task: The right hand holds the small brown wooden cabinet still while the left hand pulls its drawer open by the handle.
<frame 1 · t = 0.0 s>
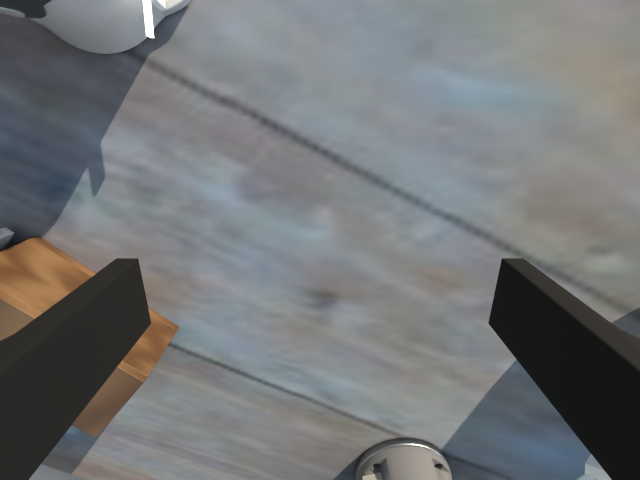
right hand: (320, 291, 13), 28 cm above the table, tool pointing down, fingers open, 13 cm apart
cabinet: (91, 311, 45), on the table
drawer: (14, 304, 39), point 5 cm above the table, slide at 1.7 cm
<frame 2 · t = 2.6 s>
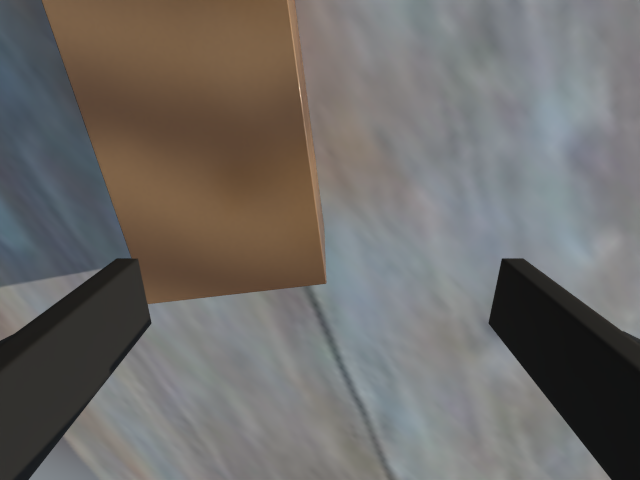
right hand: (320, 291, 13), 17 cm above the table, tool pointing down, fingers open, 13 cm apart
cabinet: (237, 113, 26), on the table
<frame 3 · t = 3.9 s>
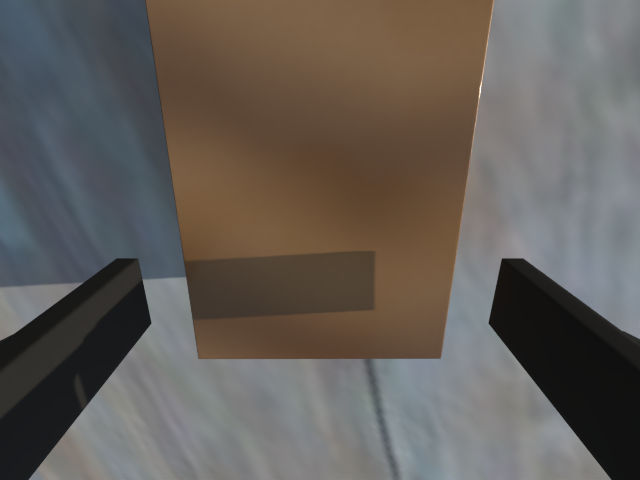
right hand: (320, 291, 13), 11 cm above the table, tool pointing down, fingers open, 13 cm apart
cabinet: (319, 116, 21), on the table
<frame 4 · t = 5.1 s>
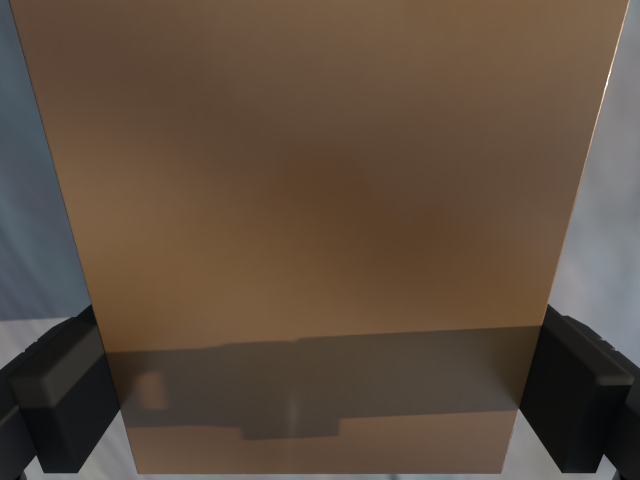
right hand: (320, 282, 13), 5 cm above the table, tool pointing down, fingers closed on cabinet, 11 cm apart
cabinet: (319, 110, 16), on the table, touching right hand
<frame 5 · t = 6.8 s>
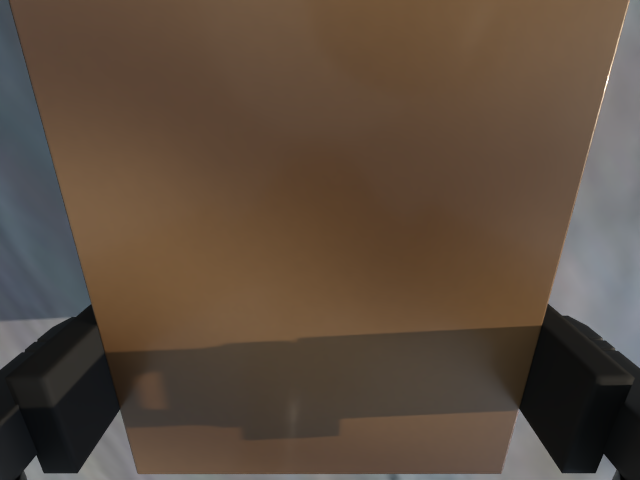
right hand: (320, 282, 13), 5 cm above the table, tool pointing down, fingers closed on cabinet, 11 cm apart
cabinet: (319, 110, 16), on the table, touching right hand
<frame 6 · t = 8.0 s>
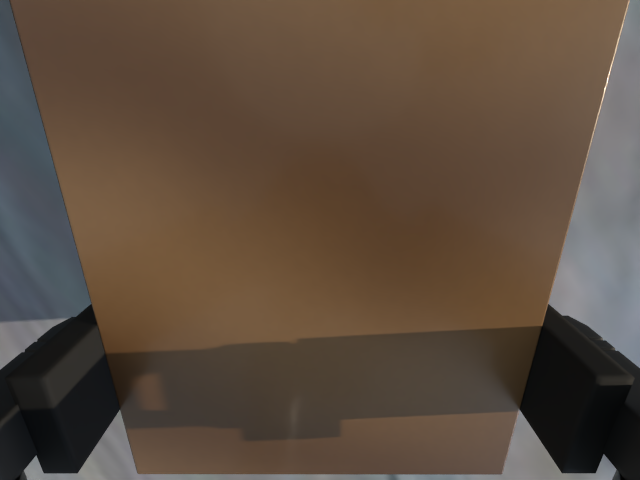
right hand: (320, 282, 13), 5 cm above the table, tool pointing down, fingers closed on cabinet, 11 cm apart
cabinet: (320, 110, 16), on the table, touching right hand
when the right hand's fingers open (5 cm above the table, at t = 9.7 s): cabinet stays where it is, on the table.
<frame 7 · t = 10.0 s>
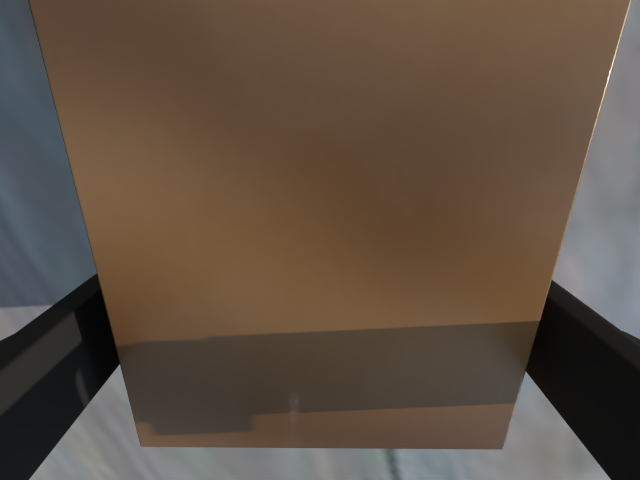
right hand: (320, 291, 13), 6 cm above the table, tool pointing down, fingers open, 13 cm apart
cabinet: (323, 93, 16), on the table
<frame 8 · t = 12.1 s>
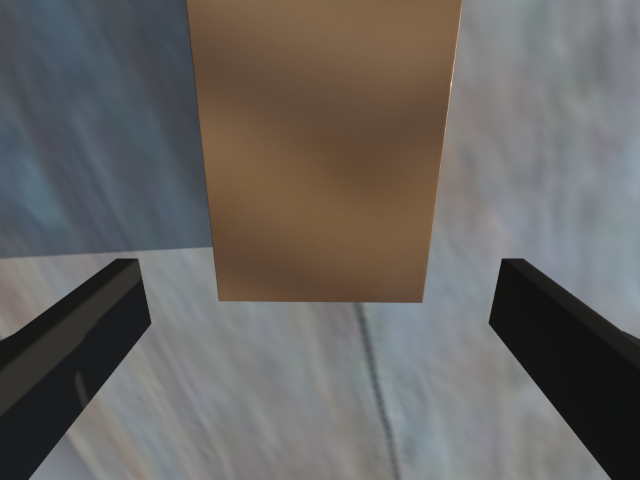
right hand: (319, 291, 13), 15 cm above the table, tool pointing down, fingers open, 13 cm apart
cabinet: (322, 101, 24), on the table
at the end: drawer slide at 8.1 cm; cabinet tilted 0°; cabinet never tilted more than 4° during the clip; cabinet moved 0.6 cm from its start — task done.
